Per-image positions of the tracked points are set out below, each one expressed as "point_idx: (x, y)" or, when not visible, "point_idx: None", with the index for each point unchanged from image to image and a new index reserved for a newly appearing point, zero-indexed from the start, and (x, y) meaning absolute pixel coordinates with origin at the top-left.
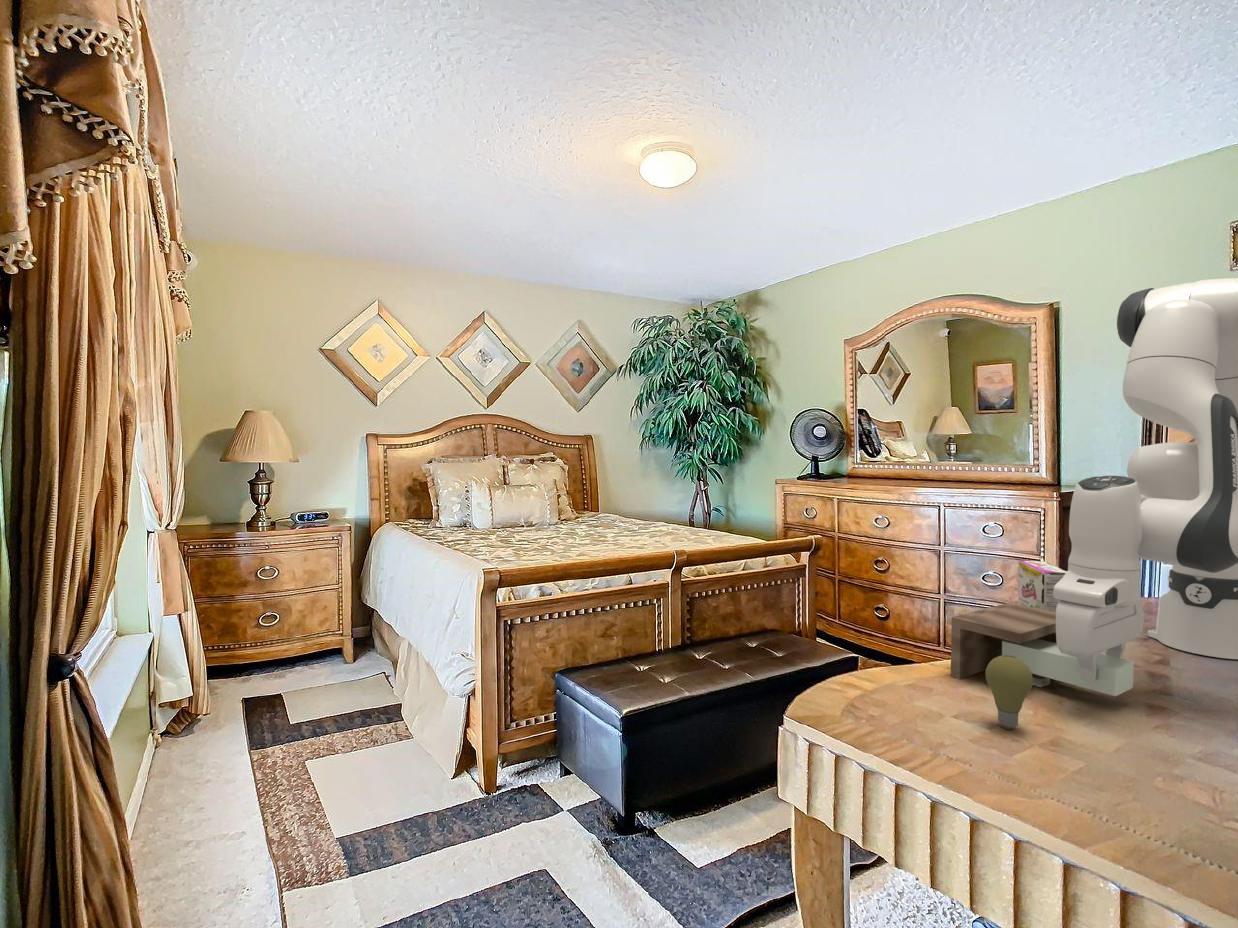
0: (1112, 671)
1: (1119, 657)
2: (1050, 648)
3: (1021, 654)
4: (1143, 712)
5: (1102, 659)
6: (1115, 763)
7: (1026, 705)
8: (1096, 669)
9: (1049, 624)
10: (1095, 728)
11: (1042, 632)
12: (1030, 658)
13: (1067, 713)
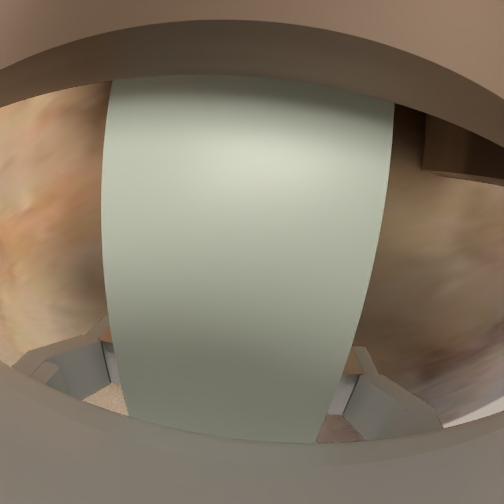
0: None
1: (352, 421)
2: (209, 125)
3: None
4: None
5: (224, 405)
6: (5, 355)
7: (47, 176)
8: (107, 384)
9: (218, 4)
10: (61, 325)
11: (45, 79)
12: None
13: (77, 264)
